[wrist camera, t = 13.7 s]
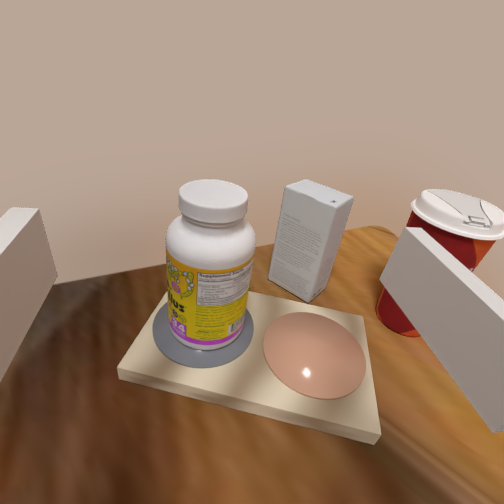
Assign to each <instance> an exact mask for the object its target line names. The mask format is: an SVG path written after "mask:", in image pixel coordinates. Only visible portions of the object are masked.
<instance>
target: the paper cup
mask: <svg viewBox="0 0 504 504" xmlns="http://www.w3.org/2000/svg"><path fill="white" fill-rule="evenodd" d="M480 201H481V202H480ZM411 209H412V213H411V215H410V218H409V220H408V223H407V226H406V227H416V228H422V229H423V230H424V231H425V232H426V233H428V234H429V235H430V236H431V237H432V238H433V239H434V240H436V241H437V242H438V243H439V244H440V245H441V246H442V247H444V248H445V249H446V250H447V251H448V252H449V253H450V254H451V255H453V256H454V257H455V258H456V259H457V260H458V261H459V262H461V263H462V264H463V265H464V266H465V267H466V268H467V269H469V270H470V271H471V272H473V271H474V269H475V268H476V267H477V265H478V264H479V262H480V261H481V260H482V259H483V257H484V256H485V255H486V253H487V252H488V251H489V249H490V248H491V247H492V245H493V244H494V243H495V241H496V240H499V239H502V238H503V237H504V212H503V211H501V210H500V209H499V208H497V207H496V206H494V205H492V204H490V203H488V202H486V201H483V200H481V199H478V198H475V197H473V196H470V195H466V194H463V193H459V192H455V191H449V190H442V189H429V190H425V191H423V192H422V193H421V194H420V196H419V197H418V198H417V199H415V200H414V201H413V202H412V203H411ZM376 314H377V316H378V318H379V319H380V321H381V322H382V323H383V324H384V325H385V326H386V327H388V328H389V329H391V330H392V331H394V332H396V333H398V334H401V335H404V336H408V337H419V336H421V335H420V334H419V333H418V331H417V330H416V329H415V327H414V326H413V325H412V323H411V322H410V321H409V319H408V318H407V316H406V315H405V314H404V312H403V311H402V310H401V308H400V307H399V306H398V304H397V303H396V302H395V300H394V299H393V297H392V296H391V295H390V293H389V292H388V291H387V289H386V288H385V287H384V286H383V289H382V292H381V294H380V297H379V300H378V303H377V306H376Z"/></svg>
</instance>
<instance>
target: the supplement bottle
mask: <svg viewBox="0 0 504 504" xmlns="http://www.w3.org/2000/svg"><path fill="white" fill-rule="evenodd" d="M247 205H248V194H247V192H246V191H245V190H244V189H243V188H242V187H240V186H238V185H236V184H234V183H231V182H227V181H222V180H212V179H206V180H197V181H191V182H188V183H186V184H184V185H183V186H182V187H181V188H180V189H179V209H180V211H181V214H182V215H180V216H178V217H177V218H176V219H174V220H173V221H172V223H171V224H170V225H169V227H168V229H167V232H166V263H167V293H168V317H169V326H170V329H171V331H172V333H173V335H174V336H175V338H176V339H177V340H179V341H180V342H181V343H182V344H184V345H186V346H188V347H190V348H193V349H198V350H213V349H218V348H221V347H224V346H226V345H228V344H230V343H231V342H232V341H234V340H235V339H236V338H237V336H238V335H239V334H240V332H241V330H242V327H243V324H244V318H245V312H246V305H247V298H248V292H249V285H250V278H251V272H252V265H253V259H254V253H255V246H256V237H255V233H254V231H253V229H252V227H251V226H250V224H249V223H248V222H247V221H246V220H245V219H243V218H244V217H245V215H246V213H247Z"/></svg>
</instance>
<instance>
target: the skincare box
mask: <svg viewBox="0 0 504 504" xmlns="http://www.w3.org/2000/svg"><path fill="white" fill-rule="evenodd" d="M353 200H354V196H351V195H348V194H345V193H343V192H339V191H337V190H334V189H332V188H329V187H326V186H324V185H321V184H318V183H316V182H313V181H310V180H308V179H304V180H301V181H299V182H296V183H293V184H290V185H287V186H285V188H284V194H283V200H282V205H281V211H280V217H279V222H278V227H277V232H276V238H275V243H274V248H273V254H272V259H271V264H270V269H269V275H268V279H269V280H270V281H272V282H274V283H276V284H277V285H279V286H281V287H282V288H284V289H285V290H287V291H289V292H290V293H292V294H294V295H295V296H297V297H299V298H300V299H302V300H304V301H305V302H307V303H309V302H310V301H311V300H313V299H314V298H315V297H316V296H317V295H318V294H319V293H320V292H322V291H323V290H324V289H325V288H326V286H327V282H328V279H329V276H330V273H331V270H332V267H333V264H334V260H335V257H336V254H337V251H338V248H339V245H340V242H341V238H342V235H343V232H344V229H345V226H346V223H347V220H348V216H349V213H350V210H351V207H352V203H353Z"/></svg>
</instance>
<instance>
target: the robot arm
mask: <svg viewBox="0 0 504 504" xmlns="http://www.w3.org/2000/svg"><path fill="white" fill-rule="evenodd" d="M56 278H57V272H56V269H55V265H54V261H53V258H52V254H51V251H50V247H49V243H48V240H47V236H46V232H45V228H44V225H43V221H42V218H41V214H40V210H39V209H36V208H16V207H11V208H10V209H9V210H8V211H7V212H6V213H5V214H4V215H3V216H2V217H1V218H0V382H1V380H2V378H3V377H4V375H5V373H6V371H7V369H8V367H9V365H10V364H11V362H12V360H13V358H14V356H15V354H16V352H17V351H18V349H19V347H20V345H21V343H22V341H23V339H24V338H25V336H26V334H27V332H28V330H29V328H30V326H31V325H32V323H33V321H34V319H35V317H36V315H37V313H38V312H39V310H40V308H41V306H42V304H43V302H44V300H45V299H46V297H47V295H48V293H49V291H50V289H51V287H52V286H53V284H54V282H55V280H56ZM379 280H380V281H381V283H382V284H383V285H384V287H385V288H386V289H387V291H388V292H389V293H390V295H391V296H392V297H393V299H394V300H395V302H396V303H397V304H398V306H399V307H400V308H401V310H402V311H403V312H404V314H405V315H406V316H407V318H408V319H409V321H410V322H411V323H412V325H413V326H414V327H415V329H416V330H417V331H418V333H419V334H420V335H421V337H422V338H423V339H424V341H425V342H426V344H427V345H428V346H429V348H430V349H431V350H432V352H433V353H434V354H435V356H436V357H437V358H438V360H439V361H440V362H441V364H442V365H443V367H444V368H445V369H446V371H447V372H448V373H449V375H450V376H451V377H452V379H453V380H454V381H455V383H456V384H457V386H458V387H459V388H460V390H461V391H462V392H463V394H464V395H465V396H466V398H467V399H468V400H469V402H470V403H471V404H472V406H473V407H474V409H475V410H476V411H477V413H478V414H479V415H480V417H481V418H482V419H483V421H484V422H485V423H486V425H487V426H488V427H489V429H490V430H491V432H492V433H496V432H504V300H502V299H501V298H500V297H499V296H498V295H497V294H496V293H495V292H493V291H492V290H491V289H490V288H489V287H488V286H487V285H485V284H484V283H483V282H482V281H481V280H480V279H479V278H478V277H476V276H475V275H474V274H473V273H472V272H471V271H470V270H469V269H467V268H466V267H465V266H464V265H463V264H462V263H461V262H459V261H458V260H457V259H456V258H455V257H454V256H453V255H451V254H450V253H449V252H448V251H447V250H446V249H445V248H444V247H442V246H441V245H440V244H439V243H438V242H437V241H436V240H434V239H433V238H432V237H431V236H430V235H429V234H428V233H426V232H425V231H424V230H423V229H422V228H416V227H404V230H403V231H402V234H401V236H400V237H399V240H398V242H397V244H396V246H395V248H394V250H393V252H392V254H391V256H390V258H389V260H388V262H387V264H386V266H385V268H384V270H383V272H382V274H381V276H380V278H379Z"/></svg>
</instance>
